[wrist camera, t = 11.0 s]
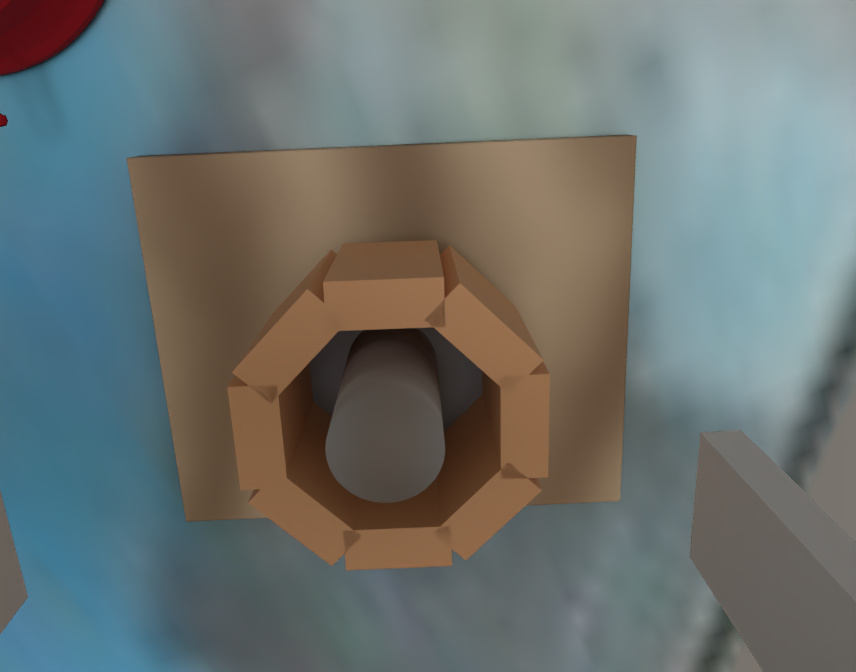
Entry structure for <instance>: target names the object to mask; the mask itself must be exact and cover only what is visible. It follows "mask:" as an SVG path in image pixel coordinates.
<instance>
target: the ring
mask: <svg viewBox="0 0 856 672" xmlns="http://www.w3.org/2000/svg"><path fill="white" fill-rule="evenodd" d="M428 327H434V328H435V329H436V330H437V331H438V332H439V333H440V334H442V335H443V336H444V337H445V338H446V339H447V340H448V341H449V342H451V343H452V344H453V345H454V346H455V347H456V348H457V349H458V350H460V351H461V352H462V353H463V354H464V355H465V356H466V357H467V358H469V359H470V360H471V361H472V362H473V363H474V364H475V365H476V366H477V367H479V368H480V369H481V370H482V395H481V396H480V397H479V398H478V399H477V400H476V401H475V402H474V403H473V404H472V405H471V406H470V407H469V408H468V409H467V410H466V411H465V412H464V413H463V414H462V415H461V416H460V417H459V418H458V419H457V420H456V421H455V422H454V423H453V424H452V425H451V426H450V427H449V428H448V429H447V430H446V431H445V432H444V440H445V457H444V462H443V465H442V468H441V470H440V472H439V474H438V475H437V477H436V478H435V480H434V481H433V482H432V483H431V484H430V486H428V487H427V488H426V489H425V490H424V491H422V492H421V493H419V494H418V495H416V496H414V497H412V498H409V499H406V500H403V501H399V502H392V503H380V502H373V501H369V500H365V499H362V498H360V497H358V496H356V495H354V494H352V493H351V492H349V491H348V490H346V489H345V488H344V487H343V486H342V485H341V484H340V483H339V482H338V481H337V480H336V478H335V477H334V475H333V474H332V472H331V470H330V468H329V465H328V462H327V458H326V450H325V445H326V438H327V434H328V430H329V426H330V423H331V419H332V416H331V415H329V414H328V413H327V412H326V411H325V410H323V409H322V408H321V407H320V406H318V405H317V404H316V403H315V402H313V393H312V382H311V371H310V361H311V360H312V359H313V358H314V357H315V356H316V355H317V354H318V353H319V352H320V351H321V349H322V348H323V347H324V346H325V345H326V344H327V343H328V342H329V341H330V340H331V339H332V338H333V337H334V336H335V334H336V333H337V332H338V331H351V330H376V329H402V328H428ZM543 360H544V359H543V357H542V356H541V354H540V352H539V350H538V348H537V346H536V344H535V342H534V341H533V339H532V337H531V335H530V333H529V331H528V329H527V327H526V325H525V324H524V322H523V320H522V318H521V316H520V314H519V312H518V310H517V308H516V307H515V305H514V304H512V303H511V302H510V301H509V300H508V299H507V298H506V297H505V296H504V295H503V294H502V293H501V292H500V291H498V290H497V289H496V288H495V287H494V286H493V285H492V284H491V283H490V282H489V281H488V280H487V279H486V278H485V277H483V276H482V275H481V274H480V273H479V272H478V271H477V270H476V269H475V268H474V267H473V266H472V265H471V264H470V263H468V262H467V261H466V260H465V259H464V258H463V257H462V256H461V255H460V254H459V253H458V252H457V251H456V250H454V249H453V248H452V247H451V246H450V245H448V247H447V248H446V249H445V250H444V251H443V252H442V253H441V254H439V249H438V243H437V240H425V241H399V242H372V243H346V244H342V246H341V248H340V250H339V252H338V254H336V253H335V252H334V251H333V250H330V251H329V252H328V253H327V254H326V255H325V256H324V257H323V259H322V260H321V261H320V262H319V263H318V264H317V265H316V266H315V267H314V269H313V270H312V271H311V272H310V273H309V274H308V275H307V276H306V277H305V279H304V280H303V281H302V282H301V283H300V284H299V285H298V286H297V287H296V289H295V290H294V291H293V292H292V293H291V294H290V295H289V296H288V297H287V299H286V300H285V301H284V302H283V303H282V304H281V305H280V306H279V307H278V309H277V310H276V311H275V312H274V313H273V314H272V315H271V317H270V318H269V319H268V321H267V322H266V324H265V325H264V327H263V328H262V330H261V331H260V332H259V334H258V335H257V337H256V338H255V340H254V341H253V343H252V344H251V345H250V347H249V348H248V350H247V351H246V353H245V354H244V356H243V357H242V358H241V360H240V361H239V363H238V364H237V366H236V367H235V369H234V370H233V371H232V373H233V374H234V375H235V376H234V378H233V379H232V381H231V382H230V384H229V385H228V387H227V389H228V397H229V405H230V413H231V421H232V428H233V436H234V444H235V452H236V460H237V467H238V475H239V483H240V490H253V492H252V494H251V497H250V499H249V502H248V503H249V504H250V505H252V506H253V507H254V508H256V509H257V510H258V511H260V512H261V513H262V514H264V515H265V516H266V517H268V518H269V519H270V520H272V521H273V522H274V523H276V524H277V525H278V526H280V527H281V528H282V529H283V530H285V531H286V532H287V533H289V534H290V535H291V536H293V537H294V538H295V539H297V540H298V541H299V542H301V543H302V544H303V545H305V546H306V547H307V548H309V549H310V550H311V551H313V552H314V553H315V554H317V555H318V556H319V557H321V558H322V559H323V560H324V561H326V562H327V563H328V564H330V565H331V566H332V565H333V564H334V563H335V562H336V561H337V560H338V559H339V558H340V557H342V556H343V555H344V554H345V563H346V570H367V569H390V568H414V567H438V566H452V550H454V551H455V552H456V553H457V554H459V555H460V556H461V557H462V558H464V559H465V560H467V559H468V558H469V557H470V556H471V555H472V554H473V553H474V552H476V551H477V550H478V549H479V548H480V547H481V546H482V545H483V544H484V543H485V542H486V541H487V540H489V539H490V538H491V537H492V536H493V535H494V534H495V533H496V532H497V531H498V530H499V529H501V528H502V527H503V526H504V525H505V524H506V523H507V522H508V521H509V520H510V519H511V518H513V517H514V516H515V515H516V514H517V513H518V512H519V511H520V510H521V509H522V508H523V507H525V506H526V505H527V504H528V503H529V502H530V501H531V500H532V499H533V498H534V497H535V496H536V495H538V494H539V493H540V492H541V491H542V489H541V487H540V484H539V481H538V478H547V477H548V454H549V399H550V373H549V371H548V369H547V368H546V366H545V364H544V362H543Z"/></svg>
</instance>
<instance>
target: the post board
mask: <svg viewBox="0 0 856 672" xmlns="http://www.w3.org/2000/svg"><path fill="white" fill-rule="evenodd" d="M636 137H637V136H633V135H607V136H584V137H561V138H538V139H516V140H493V141H470V142H447V143H424V144H401V145H378V146H355V147H332V148H309V149H286V150H263V151H240V152H217V153H194V154H171V155H148V156H137V157H130V158H127V163H128V169H129V175H130V182H131V188H132V194H133V200H134V206H135V212H136V218H137V224H138V230H139V236H140V243H141V249H142V255H143V261H144V267H145V273H146V279H147V285H148V291H149V297H150V304H151V310H152V316H153V322H154V328H155V334H156V340H157V346H158V352H159V358H160V365H161V371H162V377H163V383H164V389H165V395H166V401H167V407H168V413H169V419H170V426H171V432H172V438H173V444H174V450H175V456H176V462H177V468H178V474H179V480H180V487H181V493H182V499H183V505H184V511H185V517H186V522H188V521H209V520H230V519H251V518H268V517H266V516H265V515H264V514H262V513H261V512H260V511H258V510H257V509H256V508H254V507H253V506H252V505H250V504H249V503H248V502H249V499H250V497H251V494H252V492H253V490H240V483H239V475H238V467H237V460H236V452H235V444H234V436H233V428H232V421H231V413H230V405H229V397H228V389H227V387H228V385H229V384H230V382H231V381H232V379H233V378H234V376H235V375H234V374H233V373H232V371H233V370H234V369H235V367H236V366H237V364H238V363H239V361H240V360H241V358H242V357H243V356H244V354H245V353H246V351H247V350H248V348H249V347H250V345H251V344H252V343H253V341H254V340H255V338H256V337H257V335H258V334H259V332H260V331H261V330H262V328H263V327H264V325H265V324H266V322H267V321H268V319H269V318H270V317H271V315H272V314H273V313H274V312H275V311H276V310H277V309H278V307H279V306H280V305H281V304H282V303H283V302H284V301H285V300H286V299H287V297H288V296H289V295H290V294H291V293H292V292H293V291H294V290H295V289H296V287H297V286H298V285H299V284H300V283H301V282H302V281H303V280H304V279H305V277H306V276H307V275H308V274H309V273H310V272H311V271H312V270H313V269H314V267H315V266H316V265H317V264H318V263H319V262H320V261H321V260H322V259H323V257H324V256H325V255H326V254H327V253H328V252H329V251H330V250H333V251H334V252H335V253H336V254H338V252H339V250H340V248H341V246H342V244H346V243H372V242H399V241H425V240H437V243H438V249H439V254H441V253H442V252H443V251H444V250H445V249H446V248H447V247H448V245H450V246H451V247H452V248H453V249H454V250H456V251H457V252H458V253H459V254H460V255H461V256H462V257H463V258H464V259H465V260H466V261H467V262H468V263H470V264H471V265H472V266H473V267H474V268H475V269H476V270H477V271H478V272H479V273H480V274H481V275H482V276H483V277H485V278H486V279H487V280H488V281H489V282H490V283H491V284H492V285H493V286H494V287H495V288H496V289H497V290H498V291H500V292H501V293H502V294H503V295H504V296H505V297H506V298H507V299H508V300H509V301H510V302H511V303H512V304H514V305H515V307H516V308H517V310H518V312H519V314H520V316H521V318H522V320H523V322H524V324H525V325H526V327H527V329H528V331H529V333H530V335H531V337H532V339H533V341H534V342H535V344H536V346H537V348H538V350H539V352H540V354H541V356H542V357H543V359H544V360H543V362H544V364H545V366H546V368H547V369H548V371H549V373H550V399H549V454H548V477H547V478H538V481H539V484H540V487H541V489H542V491H541V492H540V493H539V494H538V495H536V496H535V497H534V498H533V499H532V500H531V501H530V502H529V503H528V504H527V505H545V504H566V503H587V502H608V501H620V491H621V469H622V447H623V425H624V402H625V380H626V358H627V336H628V314H629V292H630V270H631V248H632V226H633V204H634V181H635V159H636ZM310 371H311V382H312V393H313V402H315V403H316V404H317V405H318V406H320V407H321V408H322V409H323V410H325V411H326V412H327V413H328V414H329V415H331V416H332V419H331V423H330V426H329V430H328V434H327V438H326V445H325V450H326V458H327V462H328V465H329V468H330V470H331V472H332V474H333V475H334V477H335V478H336V480H337V481H338V482H339V483H340V484H341V485H342V486H343V487H344V488H345V489H346V490H348V491H349V492H351V493H352V494H354V495H356V496H358V497H360V498H362V499H365V500H369V501H373V502H380V503H392V502H399V501H403V500H406V499H409V498H412V497H414V496H416V495H418V494H419V493H421V492H422V491H424V490H425V489H426V488H427V487H428V486H430V484H431V483H432V482H433V481H434V480H435V478H436V477H437V475H438V474H439V472H440V470H441V468H442V465H443V462H444V457H445V440H444V432H445V431H446V430H447V429H448V428H449V427H450V426H451V425H452V424H453V423H454V422H455V421H456V420H457V419H458V418H459V417H460V416H461V415H462V414H463V413H464V412H465V411H466V410H467V409H468V408H469V407H470V406H471V405H472V404H473V403H474V402H475V401H476V400H477V399H478V398H479V397H480V396H481V395H482V370H481V369H480V368H479V367H477V366H476V365H475V364H474V363H473V362H472V361H471V360H470V359H469V358H467V357H466V356H465V355H464V354H463V353H462V352H461V351H460V350H458V349H457V348H456V347H455V346H454V345H453V344H452V343H451V342H449V341H448V340H447V339H446V338H445V337H444V336H443V335H442V334H440V333H439V332H438V331H437V330H436V329H435V328H434V327H428V328H402V329H376V330H351V331H338V332H337V333H336V334H335V336H334V337H333V338H332V339H331V340H330V341H329V342H328V343H327V344H326V345H325V346H324V347H323V348H322V349H321V351H320V352H319V353H318V354H317V355H316V356H315V357H314V358H313V359H312V360H311V361H310Z"/></svg>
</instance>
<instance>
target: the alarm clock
mask: <svg viewBox="0 0 856 672" xmlns="http://www.w3.org/2000/svg"><path fill="white" fill-rule="evenodd" d="M103 2H104V0H0V75H5V74H9V73H14V72H18V71H22V70H24V69H27V68H29V67H32V66H34V65H37V64H39V63H41V62H44V61H45V60H47V59H49V58H50V57H52V56H54V55H55V54H57V53H59V52H60V51H61V50H63V49H64V48H65V47H67V46H68V45H69V44H70V43H71V42H72V41H73V40H75V39H76V38H77V37H78V36H79V35H80V34H81V33H82V31H83V30H84V29H85V28H86V27H87V25H88V24H89V23H90V22H91V20H92V19H93V18H94V16H95V15H96V13H97V12H98V10H99V9H100V7H101V5H102V3H103ZM7 122H8V120H7V118H6V116H5V115H2V114H1V113H0V127H2V126H6V125H7Z"/></svg>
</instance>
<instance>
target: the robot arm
mask: <svg viewBox="0 0 856 672" xmlns="http://www.w3.org/2000/svg"><path fill="white" fill-rule="evenodd" d="M690 558H691V560H692V561H693V563H694V564H695V566H696V567H697V569H698V571H699V572H700V574H701V575H702V577H703V578H704V580H705V581H706V583H707V585H708V586H709V588H710V589H711V591H712V592H713V594H714V595H715V597H716V599H717V600H718V602H719V603H720V605H721V606H722V608H723V609H724V611H725V613H726V614H727V616H728V617H729V619H730V620H731V622H732V623H733V625H734V627H735V628H736V630H737V631H738V633H739V634H740V636H741V637H742V639H743V641H744V642H745V644H746V645H747V647H748V648H749V650H750V651H751V653H752V655H753V656H754V658H755V659H756V661H757V662H758V664H759V666H760V667H761V669H762V670H763V672H856V540H855V539H854V538H853V537H851V536H850V535H849V534H848V533H847V532H846V531H845V530H844V529H843V528H842V527H841V526H840V525H839V524H838V523H837V522H836V521H835V520H834V519H833V518H831V516H829V515H828V514H827V513H826V512H825V511H824V510H823V509H822V508H821V507H820V506H819V505H818V504H817V503H816V502H815V501H814V500H813V499H812V498H811V497H810V496H809V495H808V494H807V493H806V492H805V491H803V490H802V489H801V488H800V487H799V486H798V485H797V484H796V483H795V482H794V481H793V480H792V479H791V478H790V477H789V476H788V475H787V474H786V473H785V472H784V471H783V470H782V469H781V468H779V467H778V466H777V465H776V464H775V463H774V462H773V461H772V460H771V459H770V458H769V457H768V456H767V455H766V454H765V453H764V452H763V451H762V450H761V449H760V448H759V447H758V446H757V445H755V444H754V443H753V442H752V441H751V440H750V439H749V438H748V437H747V436H746V435H745V434H744V433H743V432H742V431H741V430H737V431H719V432H701V434H700V445H699V457H698V468H697V479H696V491H695V502H694V513H693V525H692V536H691V547H690ZM27 597H28V595H27V591H26V587H25V584H24V580H23V576H22V572H21V568H20V564H19V561H18V557H17V553H16V549H15V545H14V541H13V538H12V534H11V530H10V526H9V522H8V518H7V515H6V511H5V507H4V503H3V499H2V496H1V492H0V634H1V632H2V631H3V630H4V628H5V627H6V626H7V624H8V623H9V622H10V620H11V619H12V618H13V616H14V615H15V614H16V612H17V611H18V610H19V608H20V607H21V606H22V604H23V603H24V602H25V600H26V599H27Z"/></svg>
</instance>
